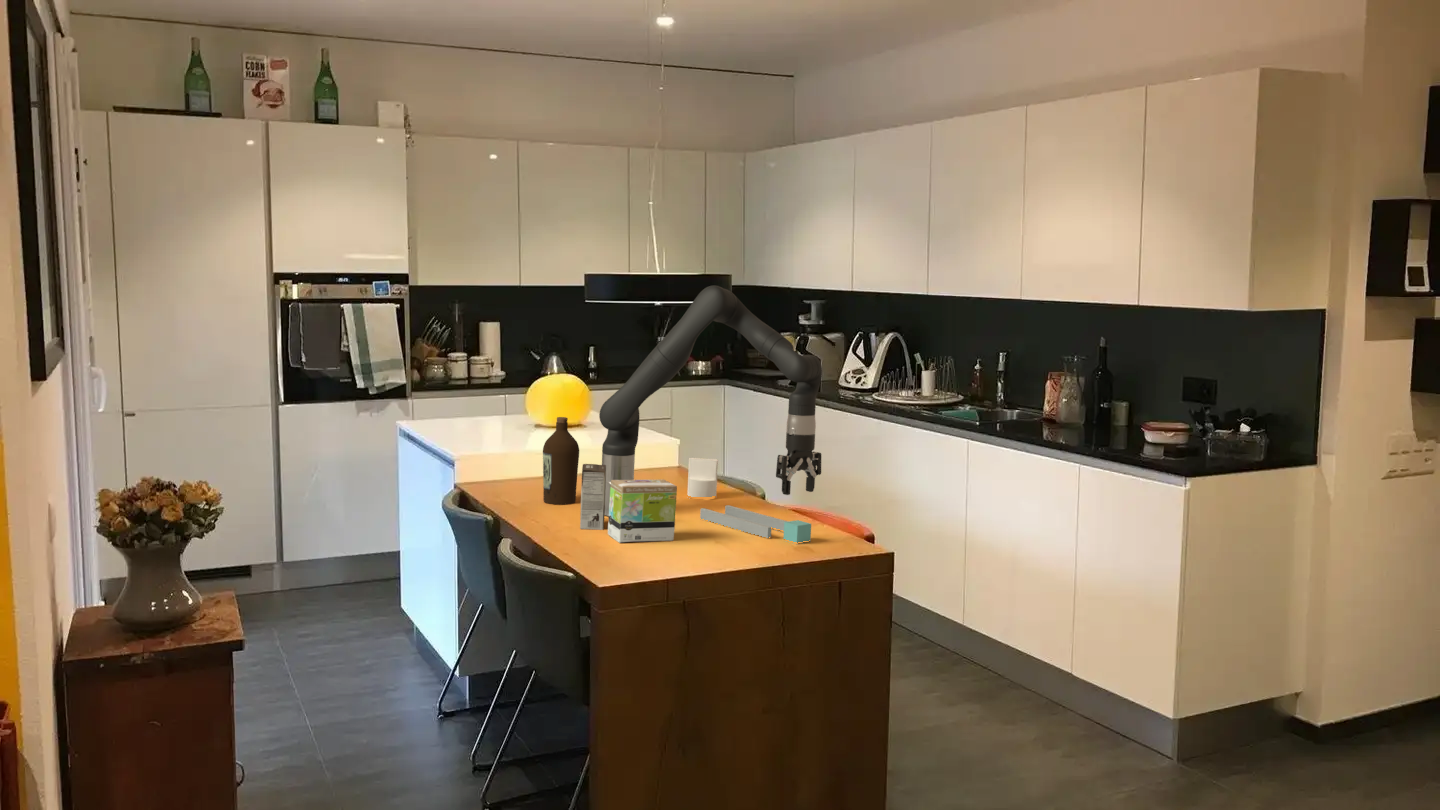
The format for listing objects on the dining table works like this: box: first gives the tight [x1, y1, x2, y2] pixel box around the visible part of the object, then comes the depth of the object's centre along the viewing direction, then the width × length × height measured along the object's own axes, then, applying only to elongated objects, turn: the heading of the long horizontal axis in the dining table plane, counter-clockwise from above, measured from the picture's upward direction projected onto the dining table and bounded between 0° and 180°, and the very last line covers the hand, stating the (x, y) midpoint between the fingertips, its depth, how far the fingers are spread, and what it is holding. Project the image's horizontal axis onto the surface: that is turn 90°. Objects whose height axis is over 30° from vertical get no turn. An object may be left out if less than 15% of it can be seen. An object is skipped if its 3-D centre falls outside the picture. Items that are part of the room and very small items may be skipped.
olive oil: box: [542, 416, 580, 506], centre depth 337 cm, size 11×11×25 cm
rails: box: [699, 504, 789, 539], centre depth 316 cm, size 10×28×3 cm, turn 40°
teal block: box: [783, 519, 812, 543], centre depth 300 cm, size 5×5×5 cm
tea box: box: [607, 478, 678, 544], centre depth 295 cm, size 15×10×15 cm, turn 114°
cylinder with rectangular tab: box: [686, 457, 719, 497], centre depth 355 cm, size 9×9×12 cm
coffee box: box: [579, 463, 606, 531], centre depth 307 cm, size 9×6×16 cm
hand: (797, 492), depth 300 cm, fingers open, 8 cm apart
